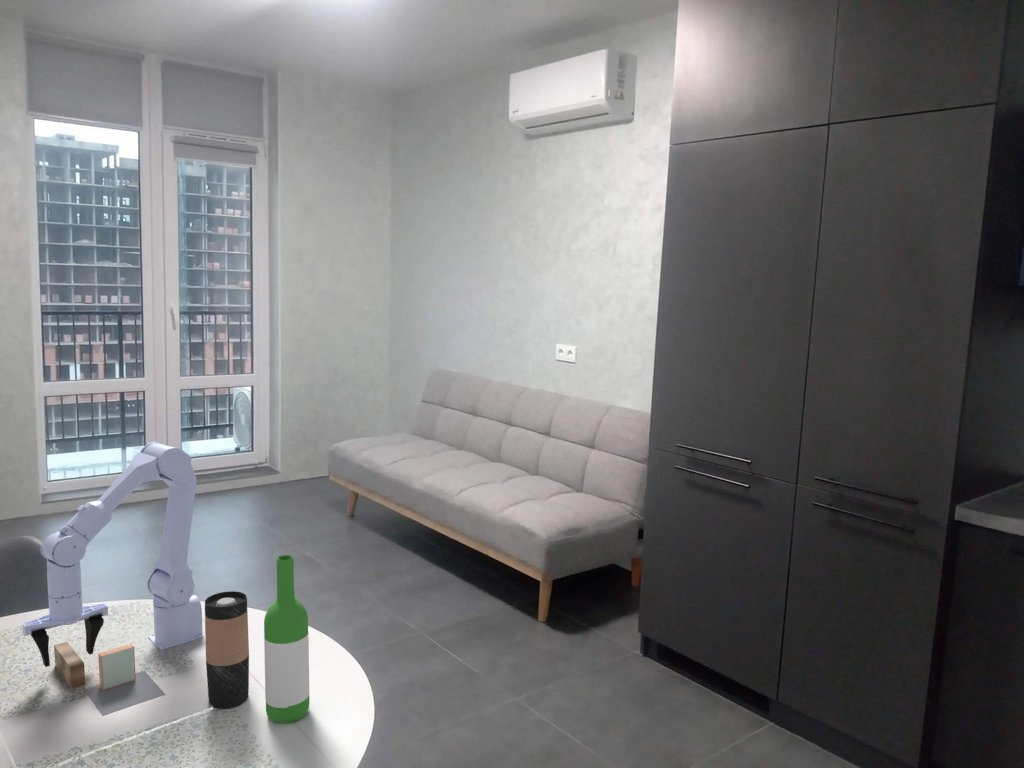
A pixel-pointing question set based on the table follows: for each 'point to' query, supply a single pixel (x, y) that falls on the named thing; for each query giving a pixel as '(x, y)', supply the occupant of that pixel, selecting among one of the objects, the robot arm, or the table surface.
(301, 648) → the wine bottle
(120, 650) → the block
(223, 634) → the travel mug
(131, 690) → the mat
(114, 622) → the table surface
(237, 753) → the table surface
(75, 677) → the bar
